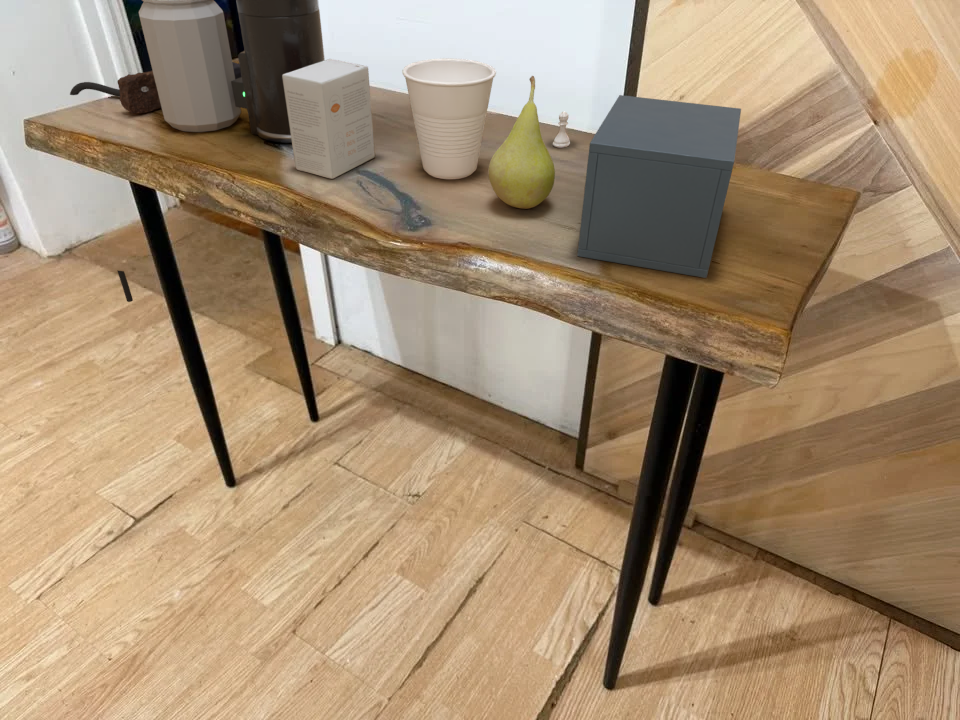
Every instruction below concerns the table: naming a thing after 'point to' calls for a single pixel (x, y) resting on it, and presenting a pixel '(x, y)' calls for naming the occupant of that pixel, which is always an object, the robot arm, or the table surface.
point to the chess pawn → (562, 132)
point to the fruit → (523, 162)
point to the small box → (329, 117)
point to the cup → (449, 112)
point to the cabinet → (658, 184)
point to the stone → (139, 92)
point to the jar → (190, 63)
